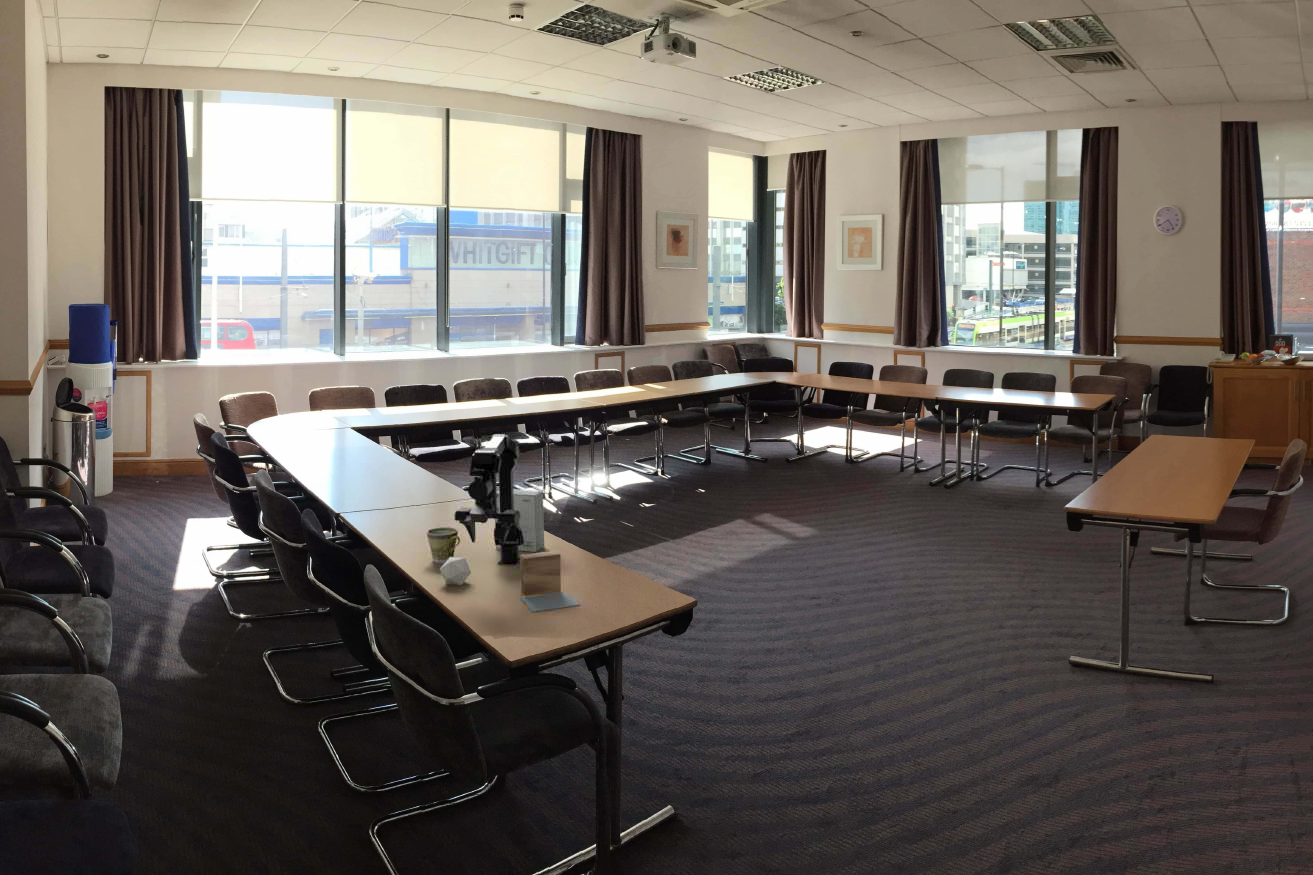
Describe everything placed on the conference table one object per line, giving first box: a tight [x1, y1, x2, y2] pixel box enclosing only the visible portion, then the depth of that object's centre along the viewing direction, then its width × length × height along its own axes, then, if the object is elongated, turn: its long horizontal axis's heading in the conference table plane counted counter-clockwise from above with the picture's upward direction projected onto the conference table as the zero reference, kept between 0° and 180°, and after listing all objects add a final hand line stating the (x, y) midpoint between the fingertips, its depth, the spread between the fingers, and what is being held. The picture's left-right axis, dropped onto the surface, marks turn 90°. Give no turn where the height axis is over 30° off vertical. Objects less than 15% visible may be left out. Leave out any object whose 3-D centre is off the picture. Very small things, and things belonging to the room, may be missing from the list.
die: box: [439, 556, 472, 586], centre depth 285 cm, size 8×9×10 cm
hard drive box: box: [494, 489, 545, 553], centre depth 323 cm, size 16×8×20 cm, turn 74°
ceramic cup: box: [426, 526, 461, 564], centre depth 308 cm, size 13×10×10 cm
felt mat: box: [519, 591, 581, 613], centre depth 269 cm, size 12×14×1 cm
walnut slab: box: [519, 550, 562, 598], centre depth 276 cm, size 4×11×12 cm, turn 115°
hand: (488, 543), depth 278 cm, fingers open, 9 cm apart
